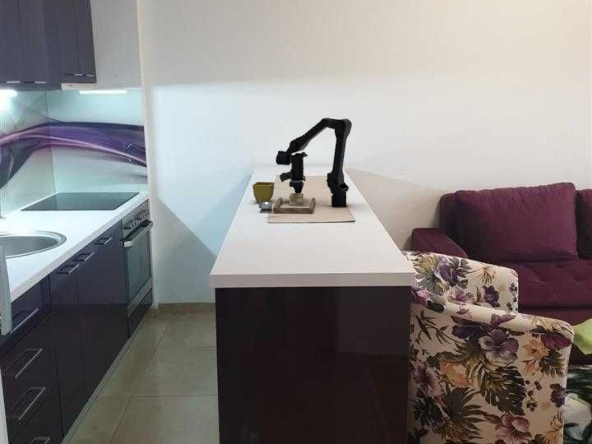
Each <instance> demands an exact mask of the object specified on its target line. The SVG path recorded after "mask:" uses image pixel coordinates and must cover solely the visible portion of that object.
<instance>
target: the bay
mask: <svg viewBox="0 0 592 444" xmlns="http://www.w3.org/2000/svg"><path fill="white" fill-rule="evenodd" d="M282 205H283V197H278V199H277V200H276V203H275V204H274V206H272V209H273V211H272V213H273V214H286V213H287V214H289V215H290V214H295V215H297V214H299V215H300V214H301V215H302V214H303V215H305V214H306V215H307V214H308V215H309V214H311V215H313V213H314V209H315V207H316V197H311V200H310V203H309V207H281V206H282Z"/></svg>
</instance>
